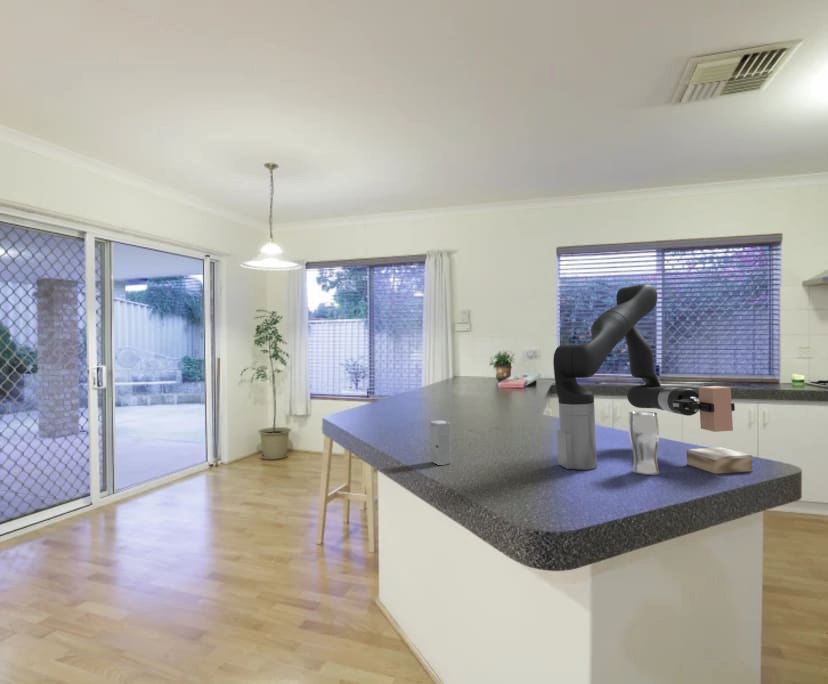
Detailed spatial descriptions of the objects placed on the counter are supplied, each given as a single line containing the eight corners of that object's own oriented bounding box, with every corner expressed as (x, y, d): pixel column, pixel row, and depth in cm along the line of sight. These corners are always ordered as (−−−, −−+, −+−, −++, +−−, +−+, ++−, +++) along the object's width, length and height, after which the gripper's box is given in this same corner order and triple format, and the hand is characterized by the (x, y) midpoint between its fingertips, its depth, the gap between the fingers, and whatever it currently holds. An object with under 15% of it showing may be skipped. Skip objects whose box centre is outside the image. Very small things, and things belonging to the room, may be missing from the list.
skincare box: (429, 462, 139) (427, 421, 139) (442, 460, 140) (441, 419, 141) (438, 466, 133) (436, 423, 133) (452, 464, 135) (450, 422, 135)
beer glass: (660, 469, 121) (657, 411, 121) (661, 476, 114) (658, 415, 115) (630, 468, 124) (627, 411, 124) (630, 474, 117) (627, 414, 118)
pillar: (714, 431, 119) (712, 388, 119) (700, 428, 124) (698, 386, 124) (732, 430, 119) (730, 387, 119) (718, 427, 124) (716, 386, 124)
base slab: (715, 473, 116) (714, 457, 116) (687, 464, 125) (686, 449, 126) (752, 471, 117) (751, 454, 117) (721, 462, 126) (721, 447, 127)
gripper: (654, 389, 135) (696, 394, 118) (701, 386, 137) (748, 391, 120) (656, 415, 135) (697, 423, 118) (702, 412, 136) (750, 420, 120)
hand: (723, 407), depth 119 cm, fingers closed on pillar, 5 cm apart
